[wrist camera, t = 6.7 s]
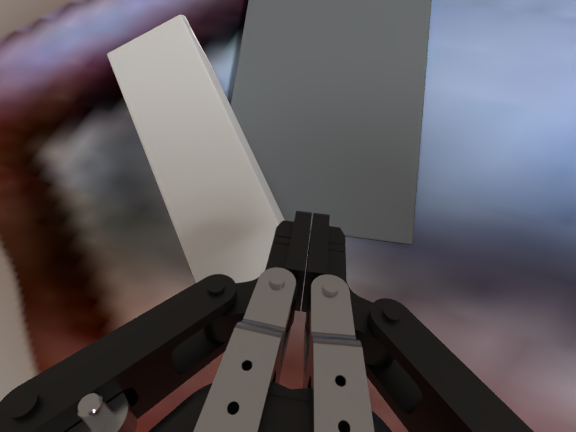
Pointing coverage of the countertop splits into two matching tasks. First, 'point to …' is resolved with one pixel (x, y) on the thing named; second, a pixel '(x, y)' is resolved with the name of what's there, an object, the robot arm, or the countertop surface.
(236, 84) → the mat
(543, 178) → the countertop surface
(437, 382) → the robot arm
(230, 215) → the milk
